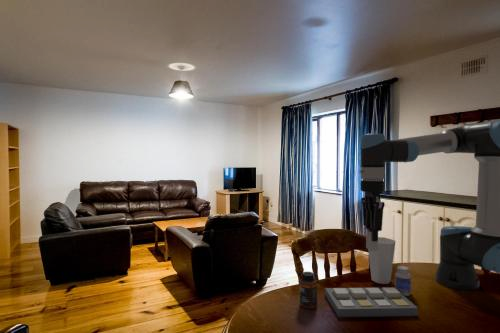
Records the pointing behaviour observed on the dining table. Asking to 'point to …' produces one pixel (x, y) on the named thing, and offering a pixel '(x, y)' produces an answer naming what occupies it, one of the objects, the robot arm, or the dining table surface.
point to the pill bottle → (403, 280)
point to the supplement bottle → (308, 291)
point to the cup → (382, 261)
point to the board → (371, 305)
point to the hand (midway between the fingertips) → (372, 249)
